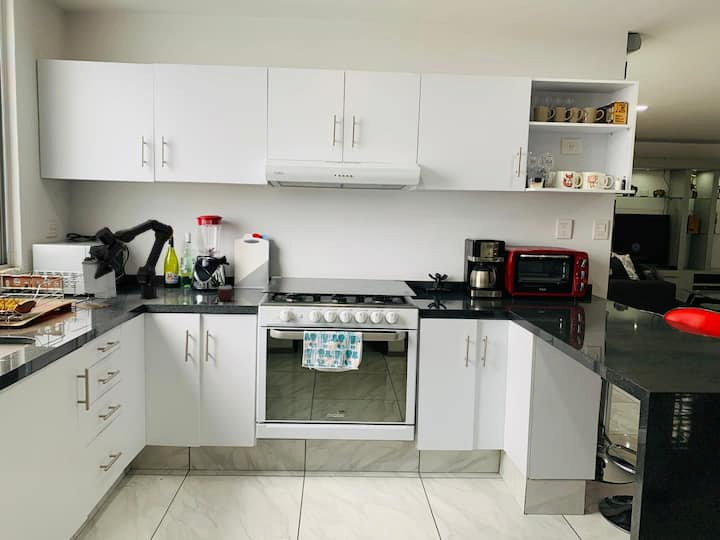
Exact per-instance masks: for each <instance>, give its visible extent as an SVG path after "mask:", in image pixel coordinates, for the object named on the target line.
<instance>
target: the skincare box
mask: <svg viewBox="0 0 720 540" xmlns="http://www.w3.org/2000/svg"><path fill="white" fill-rule="evenodd" d="M102 278H103V292H98V293H93V294H94V298H95V299H107V298H108V299H112V298H111V297H113V298H116V297H117V290H116V288H117V287H116V271H114V270H113V272H110V273H108V274H106V275H104V276H102Z"/></svg>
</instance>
